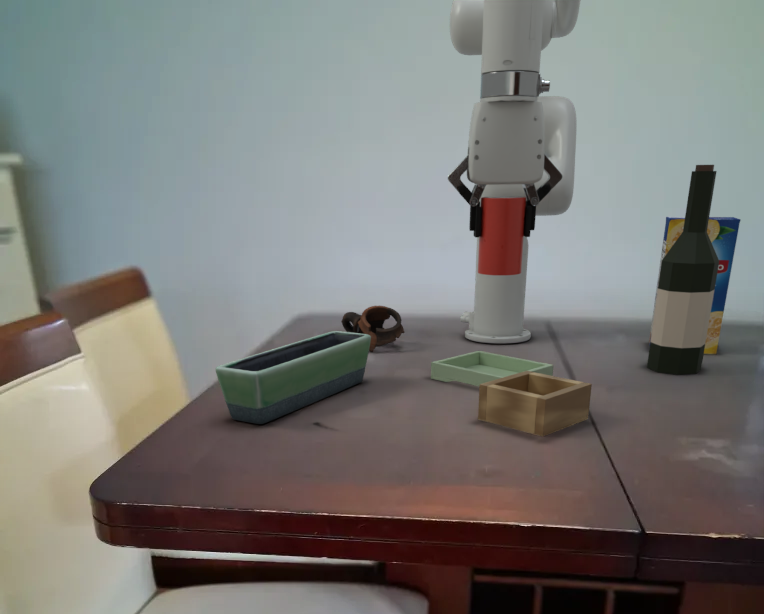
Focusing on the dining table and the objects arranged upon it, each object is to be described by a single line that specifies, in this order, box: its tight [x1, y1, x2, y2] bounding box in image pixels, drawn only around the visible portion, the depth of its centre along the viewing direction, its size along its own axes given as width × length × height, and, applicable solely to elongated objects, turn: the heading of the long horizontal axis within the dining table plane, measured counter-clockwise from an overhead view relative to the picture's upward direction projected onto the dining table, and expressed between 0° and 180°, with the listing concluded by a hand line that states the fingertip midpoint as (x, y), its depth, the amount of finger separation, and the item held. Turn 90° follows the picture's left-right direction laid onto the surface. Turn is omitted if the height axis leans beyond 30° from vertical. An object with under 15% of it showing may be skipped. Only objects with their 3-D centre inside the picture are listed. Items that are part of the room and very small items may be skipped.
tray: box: [430, 350, 554, 387], centre depth 114 cm, size 15×12×3 cm
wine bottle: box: [646, 164, 719, 376], centre depth 114 cm, size 8×8×30 cm
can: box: [478, 196, 526, 275], centre depth 105 cm, size 6×6×10 cm
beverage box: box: [648, 216, 741, 355], centre depth 129 cm, size 7×11×22 cm, turn 75°
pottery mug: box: [340, 305, 406, 352], centre depth 137 cm, size 12×10×8 cm
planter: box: [215, 330, 371, 425], centre depth 104 cm, size 28×7×7 cm, turn 150°
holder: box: [477, 371, 593, 438], centre depth 94 cm, size 10×10×5 cm
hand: (501, 235), depth 105 cm, fingers closed on can, 6 cm apart
